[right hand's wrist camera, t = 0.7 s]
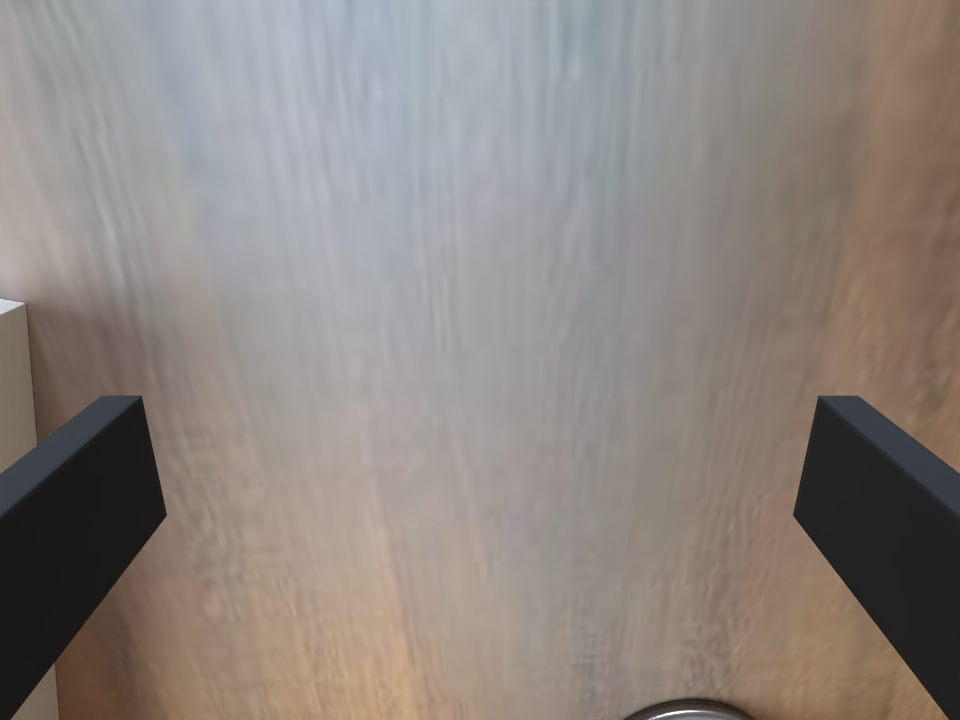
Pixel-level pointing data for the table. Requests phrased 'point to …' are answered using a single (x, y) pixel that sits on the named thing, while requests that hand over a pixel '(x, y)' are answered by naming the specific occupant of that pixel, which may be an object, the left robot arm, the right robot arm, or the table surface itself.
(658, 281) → the table surface
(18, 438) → the beam
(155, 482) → the right robot arm
